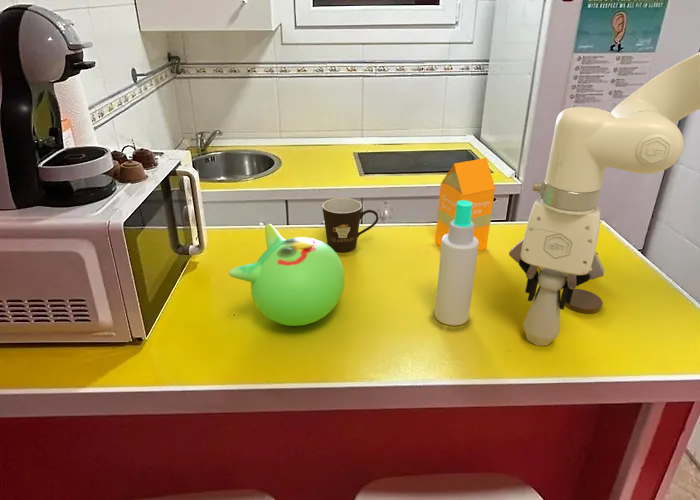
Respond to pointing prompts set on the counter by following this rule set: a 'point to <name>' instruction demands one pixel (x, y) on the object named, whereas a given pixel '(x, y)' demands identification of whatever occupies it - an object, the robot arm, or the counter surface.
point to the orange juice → (467, 198)
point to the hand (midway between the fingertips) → (547, 300)
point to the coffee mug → (343, 223)
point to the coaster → (584, 302)
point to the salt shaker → (545, 308)
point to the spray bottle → (457, 268)
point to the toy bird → (294, 279)
